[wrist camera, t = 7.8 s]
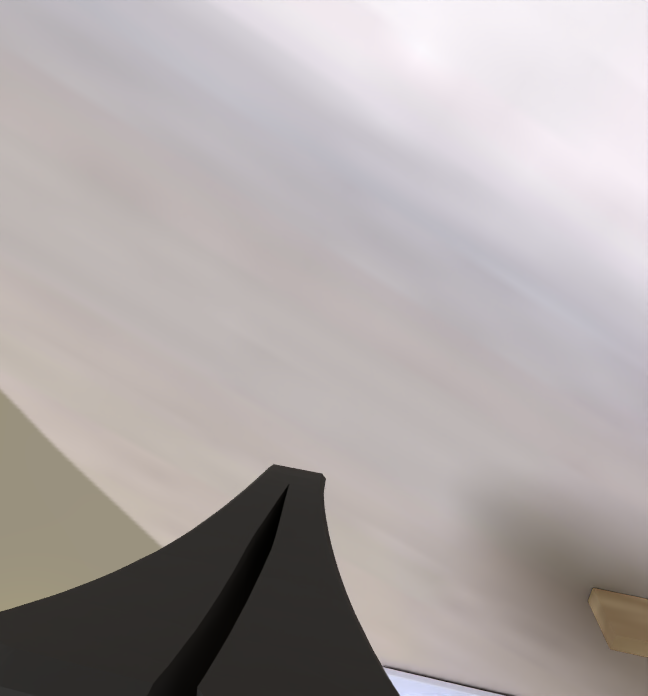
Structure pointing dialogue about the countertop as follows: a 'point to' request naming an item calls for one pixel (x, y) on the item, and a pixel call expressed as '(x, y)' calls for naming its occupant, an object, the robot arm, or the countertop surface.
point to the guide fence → (621, 620)
